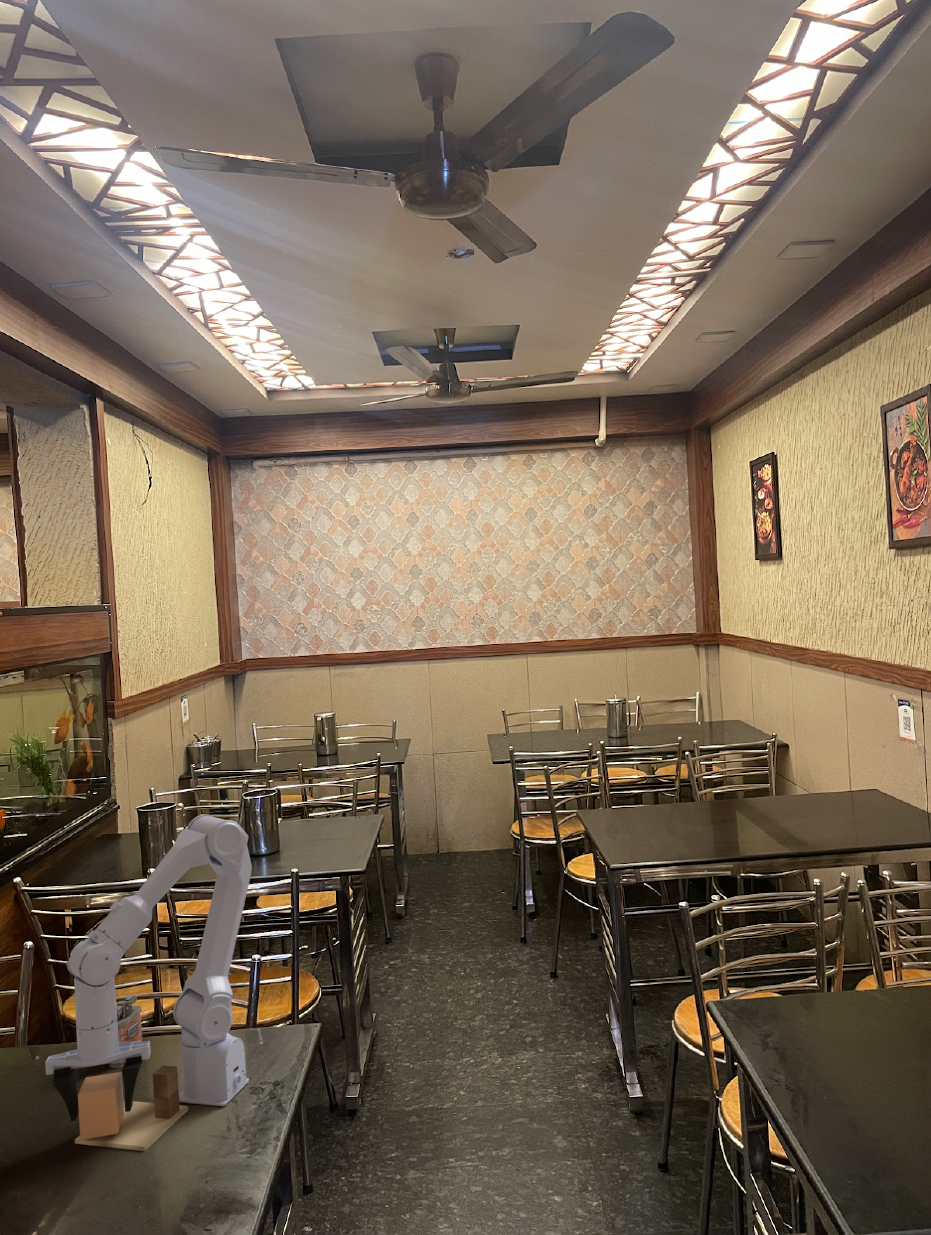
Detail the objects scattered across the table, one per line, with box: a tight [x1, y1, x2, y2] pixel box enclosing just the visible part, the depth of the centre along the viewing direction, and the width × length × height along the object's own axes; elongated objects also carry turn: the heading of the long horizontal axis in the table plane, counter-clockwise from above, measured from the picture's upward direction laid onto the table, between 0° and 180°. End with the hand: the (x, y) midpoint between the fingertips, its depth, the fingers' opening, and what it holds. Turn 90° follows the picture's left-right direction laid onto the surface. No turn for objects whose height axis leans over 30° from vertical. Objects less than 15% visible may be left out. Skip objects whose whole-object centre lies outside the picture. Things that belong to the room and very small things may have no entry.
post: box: [152, 1065, 180, 1119], centre depth 136 cm, size 3×3×7 cm
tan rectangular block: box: [77, 1071, 124, 1140], centre depth 132 cm, size 5×5×7 cm
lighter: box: [109, 994, 143, 1069], centre depth 157 cm, size 8×3×10 cm, turn 168°
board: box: [74, 1099, 189, 1152], centre depth 134 cm, size 12×11×1 cm
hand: (102, 1112), depth 132 cm, fingers open, 7 cm apart
